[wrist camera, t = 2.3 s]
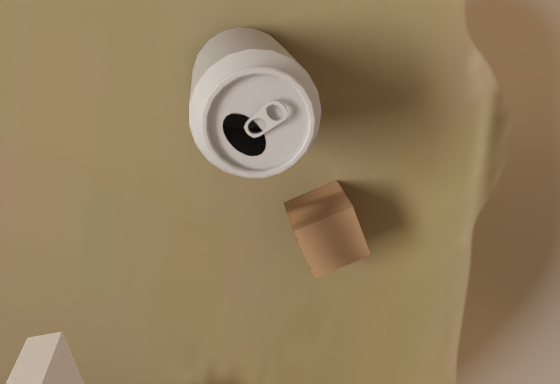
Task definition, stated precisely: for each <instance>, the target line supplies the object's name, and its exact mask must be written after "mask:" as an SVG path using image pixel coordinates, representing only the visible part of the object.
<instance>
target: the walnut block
mask: <svg viewBox="0 0 560 384" xmlns="http://www.w3.org/2000/svg"><path fill="white" fill-rule="evenodd" d="M284 205H285V208H286V211H287V214H288V217H289V220H290V223H291V226H292V229H293V232H294V234H295V236H296V238H297V240H298V243H299V245H300V247H301V249H302V251H303V253H304V256H305V258H306V260H307V262H308V264H309V267H310V269H311V271H312V273H313V275H314V278H317V277H319V276H321V275H324V274H326V273H329V272H331V271H333V270H336V269H338V268H341V267H343V266H345V265H348V264H350V263H353V262H355V261H358V260H360V259H362V258H365V257H367V256H370V255H371V254H370V251H369V249H368V246H367V243H366V240H365V238H364V235H363V232H362V229H361V227H360V224H359V221H358V219H357V216H356V213H355V210H354V208H353V206H352V204H351V202H350V201H349V199H348V198H347V196H346V194H345V193H344V191H343V189H342V188H341V186H340V185H339V183H338V181H337V180H336V181H334V182H332V183H329V184H327V185H325V186H322V187H320V188H317V189H315V190H313V191H310V192H308V193H306V194H303V195H301V196H299V197H296V198H294V199H291V200H289V201H287V202H284Z"/></svg>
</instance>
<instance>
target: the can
mask: <svg viewBox="0 0 560 384" xmlns="http://www.w3.org/2000/svg"><path fill="white" fill-rule="evenodd" d="M321 111H322V110H321V104H320V99H319V94H318V90H317V88H316V86H315V85H314V83H313V81H312V79H311V78H310V76H309V74H308V72H307V71H306V70H305V69H304V68H303V67H302V66H301V65H300V64H299V63H298V62H297V61H296V60H295V59H294V58H293V57H292V56H291V55H290V54H289V53H288V51H287V50H286V49H285V48H284V47H283V46H282V45H281V44H280V43H278V42H277V41H276V40H275V39H274V38H273V37H272V36H270V35H269V34H267V33H264V32H262V31H260V30H257V29H255V28H242V27H237V28H233V29H229V30H226V31H222V32H220V33H219V34H217V35H216V36H214V37H213V38H211V39H210V40H208V42H207V43H206V44H205V45H204V47H203V48H202V49H201V51H200V52H199V53H198V56H197V59H196V62H195V65H194V68H193V73H192V83H191V93H190V103H189V126H190V129H191V132H192V135H193V137H194V140H195V143H196V145H197V147H198V148H199V149H200V151H201V152H202V153H203V154H204V156H205V157H206V158H207V160H208V161H210V162H211V163H213V164H214V165H215V166H217V167H218V168H220V169H221V170H223V171H224V172H227V173H230V174H233V175H236V176H240V177H243V178H267V177H270V176H274V175H278V174H281V173H283V172H284V171H286V170H288V169H289V168H291V167H292V166H294V165H296V163H298V162H299V160H300V159H301V158H302V157H303V156H304V155H305V154H306V153H307V151H308V150H309V149H310V148H311V146H312V144H313V142H314V140H315V138H316V136H317V133H318V131H319V127H320V119H321Z"/></svg>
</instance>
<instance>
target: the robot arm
mask: <svg viewBox="0 0 560 384" xmlns="http://www.w3.org/2000/svg"><path fill="white" fill-rule="evenodd" d="M6 384H84V383H83V380H82V378H81V376H80V373H79V371H78V368H77V366H76V364H75V361H74V359H73V357H72V354H71V352H70V350H69V347H68V345H67V343H66V340H65V338H64V335H63V333H62V332H57V333H52V334H46V335H41V336H35V337H29V338H27V340H26V342H25V344H24V346H23V348H22V351H21V353H20V355H19V357H18V359H17V361H16V363H15V365H14V368H13V370H12V372H11V374H10V376H9V378H8V380H7V382H6Z"/></svg>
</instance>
